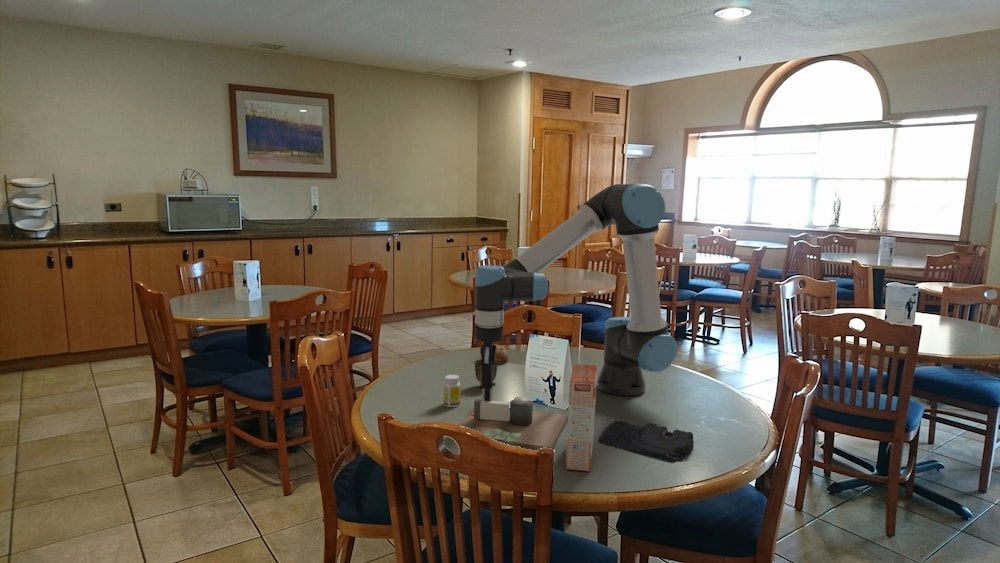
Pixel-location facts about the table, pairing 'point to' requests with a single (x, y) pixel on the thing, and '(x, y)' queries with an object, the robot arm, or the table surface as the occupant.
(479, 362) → the cup
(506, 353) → the bread roll
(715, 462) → the table surface
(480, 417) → the peg dial
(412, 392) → the table surface
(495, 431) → the brown flat panel
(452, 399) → the supplement bottle
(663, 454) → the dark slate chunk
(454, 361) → the table surface
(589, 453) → the cracker box
